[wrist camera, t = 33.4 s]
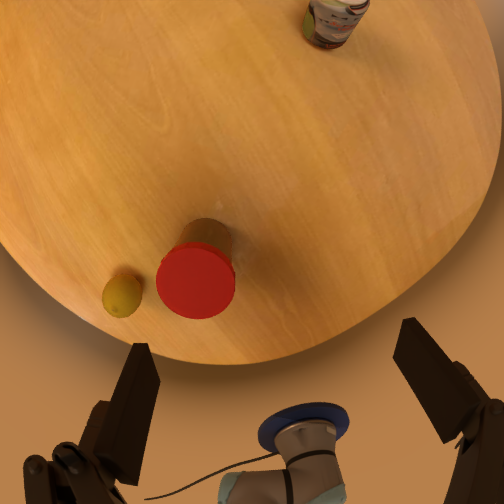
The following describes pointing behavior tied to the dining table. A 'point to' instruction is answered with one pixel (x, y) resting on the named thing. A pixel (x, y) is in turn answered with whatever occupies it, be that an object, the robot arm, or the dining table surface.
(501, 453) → the robot arm
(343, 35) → the beverage can
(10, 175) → the dining table surface
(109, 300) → the lemon
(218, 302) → the cap
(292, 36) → the dining table surface
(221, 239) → the jar
